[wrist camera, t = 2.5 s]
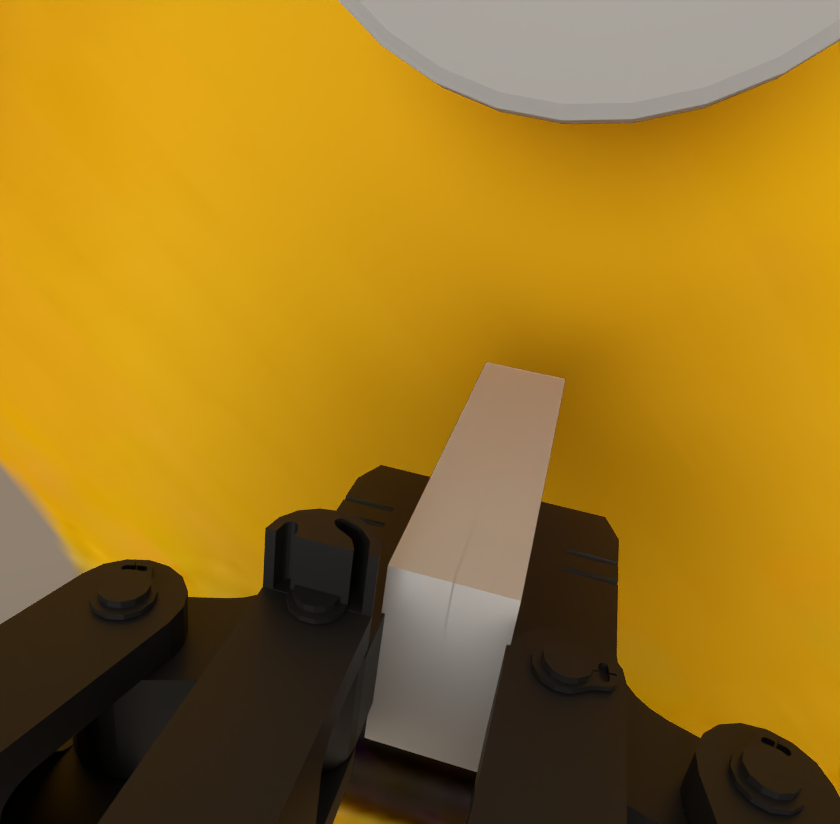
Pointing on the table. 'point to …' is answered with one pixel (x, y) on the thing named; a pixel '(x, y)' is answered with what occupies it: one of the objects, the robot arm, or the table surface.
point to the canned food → (600, 50)
